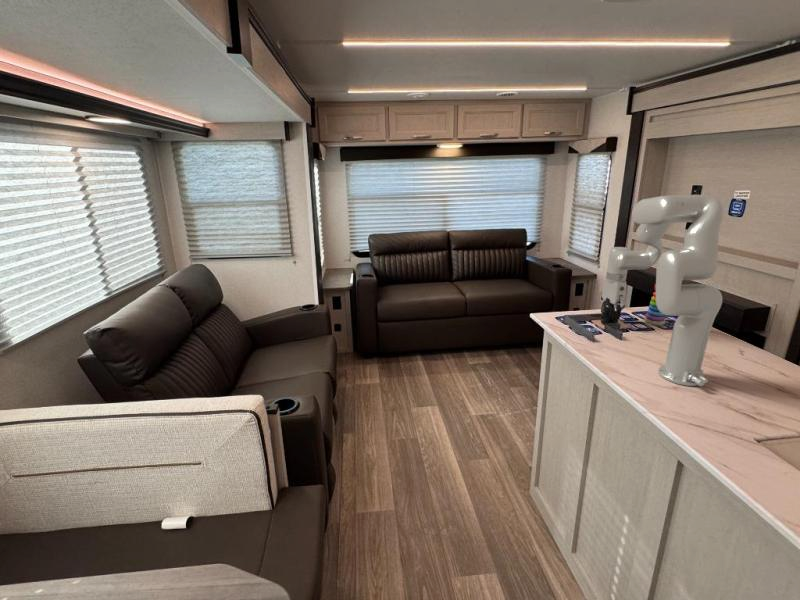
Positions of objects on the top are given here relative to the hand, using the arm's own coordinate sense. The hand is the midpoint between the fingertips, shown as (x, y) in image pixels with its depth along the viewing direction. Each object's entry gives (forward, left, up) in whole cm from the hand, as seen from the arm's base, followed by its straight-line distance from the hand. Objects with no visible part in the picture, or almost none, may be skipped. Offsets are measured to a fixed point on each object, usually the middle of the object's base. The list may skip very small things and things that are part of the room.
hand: (609, 315), depth 176 cm
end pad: (0, -1, -4) cm, 4 cm away
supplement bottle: (0, 0, -4) cm, 4 cm away
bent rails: (-5, +8, -4) cm, 10 cm away
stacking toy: (-1, -21, -4) cm, 21 cm away
